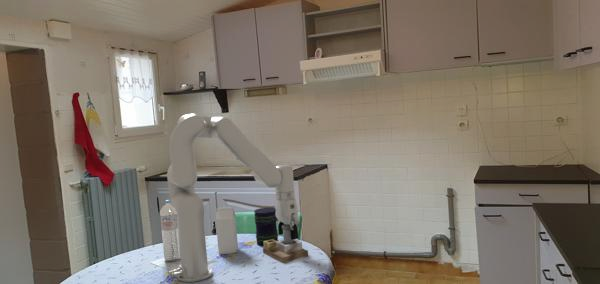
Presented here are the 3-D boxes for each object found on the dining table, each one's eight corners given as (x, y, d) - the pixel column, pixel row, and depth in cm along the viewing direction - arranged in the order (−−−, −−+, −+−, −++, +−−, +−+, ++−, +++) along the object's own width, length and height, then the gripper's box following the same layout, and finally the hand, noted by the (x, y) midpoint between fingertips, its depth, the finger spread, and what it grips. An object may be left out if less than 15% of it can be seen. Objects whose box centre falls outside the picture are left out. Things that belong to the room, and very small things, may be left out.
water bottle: (160, 261, 182) (155, 202, 180) (172, 255, 188) (167, 198, 186) (173, 263, 179) (167, 202, 177) (184, 257, 185) (179, 198, 183)
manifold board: (282, 262, 170) (281, 250, 170) (263, 252, 184) (262, 241, 184) (308, 255, 177) (307, 243, 176) (287, 246, 190) (286, 235, 190)
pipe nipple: (287, 251, 177) (285, 227, 176) (281, 249, 181) (279, 225, 180) (296, 249, 179) (295, 225, 179) (291, 246, 183) (289, 223, 183)
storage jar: (253, 242, 200) (250, 209, 199) (273, 238, 204) (271, 206, 203) (261, 247, 191) (258, 214, 190) (281, 243, 195) (279, 210, 194)
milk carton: (235, 253, 186) (231, 209, 184) (218, 254, 186) (214, 210, 185) (238, 247, 193) (234, 205, 192) (222, 248, 193) (218, 206, 192)
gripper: (304, 196, 173) (307, 239, 174) (282, 191, 188) (285, 230, 189) (288, 199, 169) (291, 243, 170) (267, 193, 184) (270, 234, 185)
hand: (288, 236), depth 180 cm, fingers open, 9 cm apart
